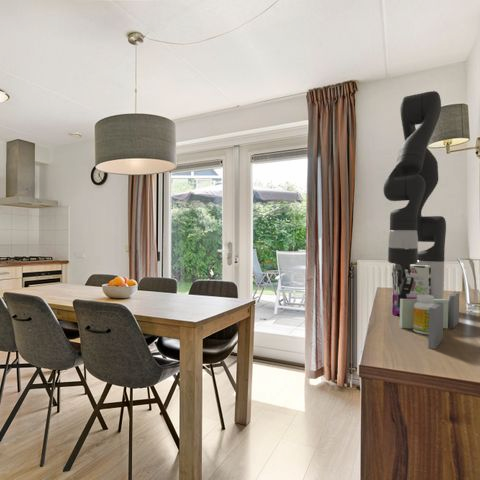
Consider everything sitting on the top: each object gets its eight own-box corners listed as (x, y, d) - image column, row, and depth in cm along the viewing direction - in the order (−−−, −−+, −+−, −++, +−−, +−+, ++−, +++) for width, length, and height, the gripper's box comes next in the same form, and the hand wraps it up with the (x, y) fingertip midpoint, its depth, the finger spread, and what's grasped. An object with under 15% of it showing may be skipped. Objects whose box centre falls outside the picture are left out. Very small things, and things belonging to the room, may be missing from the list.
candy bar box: (428, 315, 114) (429, 265, 114) (430, 318, 110) (431, 266, 110) (391, 312, 119) (392, 263, 119) (391, 315, 114) (392, 264, 114)
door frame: (453, 321, 106) (454, 291, 106) (459, 322, 105) (460, 292, 105) (427, 347, 79) (428, 307, 79) (435, 349, 78) (436, 308, 78)
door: (444, 327, 98) (445, 299, 98) (447, 328, 97) (448, 299, 97) (399, 327, 97) (400, 298, 97) (401, 328, 96) (402, 299, 96)
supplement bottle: (424, 335, 89) (425, 297, 89) (408, 330, 94) (409, 294, 94) (441, 334, 91) (441, 296, 91) (424, 329, 96) (424, 293, 96)
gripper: (383, 245, 106) (382, 302, 107) (395, 247, 93) (393, 312, 94) (409, 245, 105) (408, 303, 105) (425, 247, 92) (423, 313, 92)
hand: (401, 307), depth 99 cm, fingers closed
